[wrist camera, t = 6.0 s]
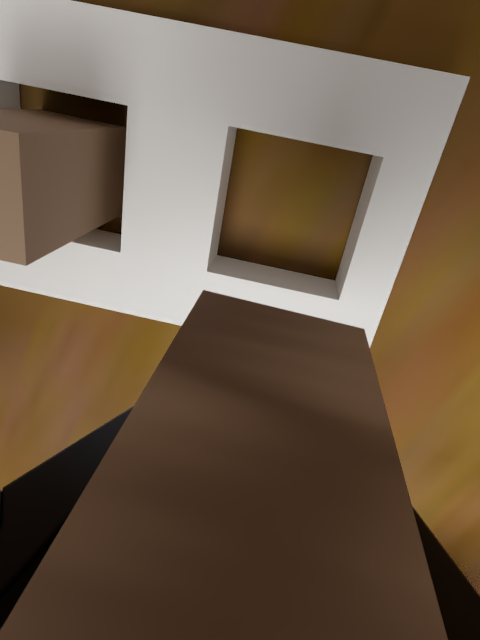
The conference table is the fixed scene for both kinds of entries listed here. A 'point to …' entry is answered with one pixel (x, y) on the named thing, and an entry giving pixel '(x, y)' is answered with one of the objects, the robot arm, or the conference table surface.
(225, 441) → the beige rectangular block
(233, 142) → the white block with holes
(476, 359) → the conference table surface
